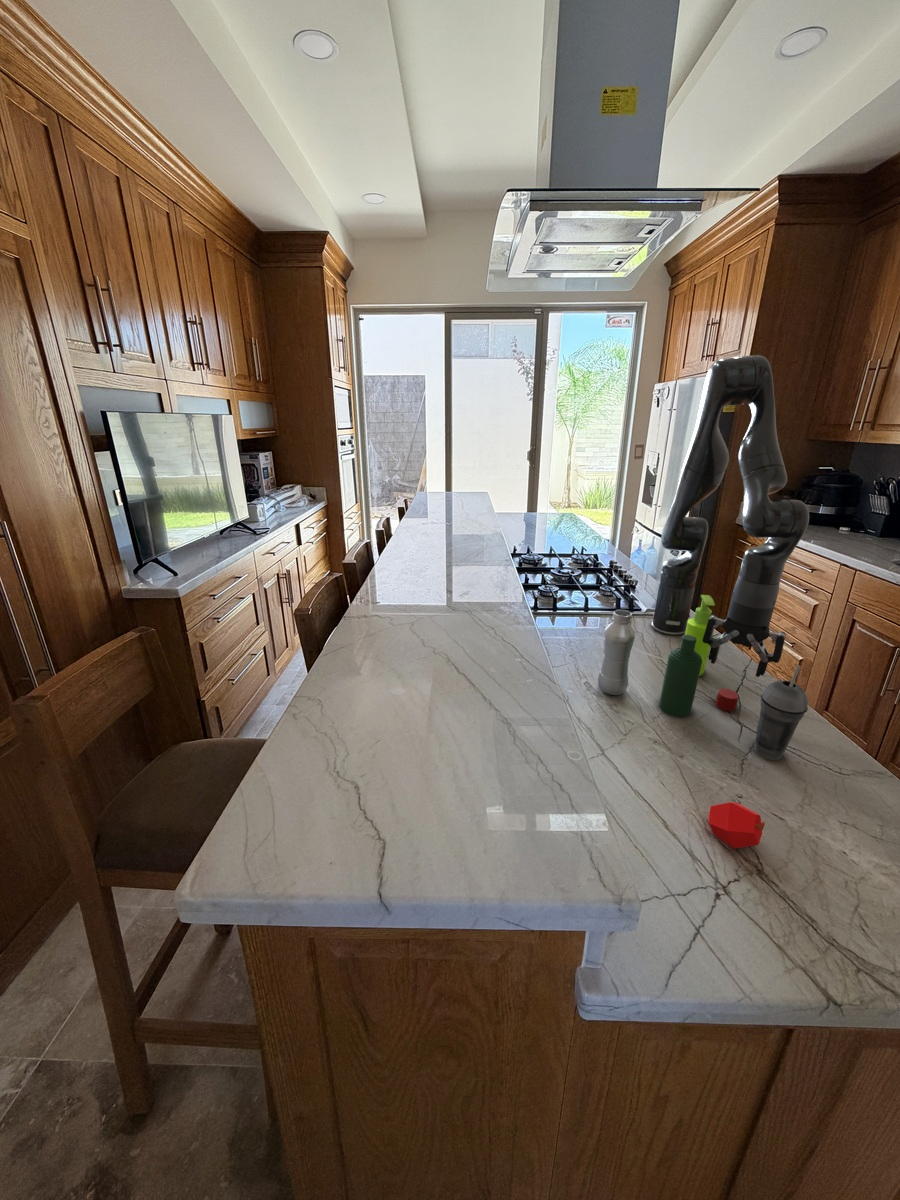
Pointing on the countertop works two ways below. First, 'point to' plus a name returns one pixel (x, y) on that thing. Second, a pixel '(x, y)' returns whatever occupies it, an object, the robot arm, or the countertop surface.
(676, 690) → the oil bottle
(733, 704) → the cap
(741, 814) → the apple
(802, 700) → the beverage cup
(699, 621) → the soap dispenser
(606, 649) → the plastic bottle
